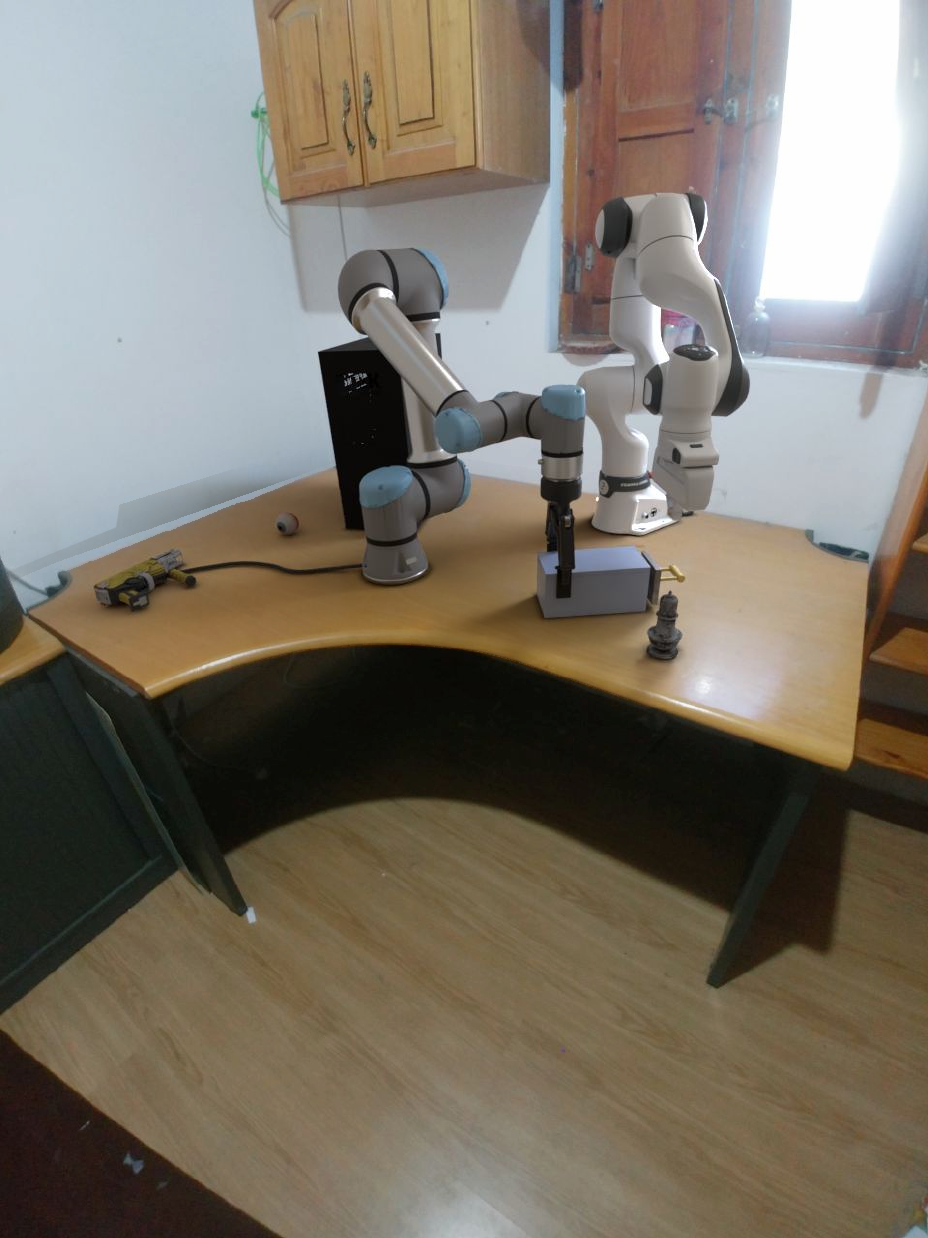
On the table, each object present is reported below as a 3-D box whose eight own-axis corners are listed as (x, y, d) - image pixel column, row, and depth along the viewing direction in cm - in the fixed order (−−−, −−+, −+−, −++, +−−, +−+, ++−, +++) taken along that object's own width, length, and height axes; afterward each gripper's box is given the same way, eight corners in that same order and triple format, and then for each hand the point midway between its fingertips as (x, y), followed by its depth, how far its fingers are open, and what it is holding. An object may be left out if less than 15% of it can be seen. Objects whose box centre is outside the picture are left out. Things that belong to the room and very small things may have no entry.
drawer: (669, 582, 127) (674, 548, 123) (685, 602, 119) (691, 567, 116) (555, 590, 127) (555, 556, 123) (563, 611, 119) (564, 576, 115)
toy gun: (219, 557, 146) (169, 546, 150) (142, 598, 126) (87, 585, 129) (222, 574, 148) (172, 563, 152) (147, 618, 128) (92, 604, 132)
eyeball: (273, 537, 164) (268, 516, 161) (287, 528, 169) (282, 508, 166) (291, 539, 161) (286, 518, 158) (305, 530, 166) (301, 510, 163)
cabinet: (630, 587, 128) (634, 545, 123) (645, 611, 119) (650, 567, 114) (536, 594, 128) (537, 552, 123) (544, 618, 119) (545, 574, 114)
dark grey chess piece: (681, 660, 104) (691, 599, 98) (646, 658, 105) (653, 597, 99) (678, 642, 108) (687, 583, 102) (644, 640, 110) (651, 581, 104)
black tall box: (415, 531, 162) (398, 349, 139) (345, 528, 166) (317, 351, 144) (450, 487, 193) (440, 332, 171) (390, 485, 198) (373, 335, 175)
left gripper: (531, 460, 120) (531, 562, 131) (552, 497, 100) (549, 613, 111) (569, 458, 120) (565, 559, 131) (596, 494, 100) (589, 610, 111)
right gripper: (647, 432, 117) (640, 501, 124) (686, 460, 99) (676, 538, 106) (679, 430, 117) (671, 499, 124) (724, 457, 99) (711, 536, 106)
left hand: (558, 584), depth 121 cm, fingers closed on cabinet, 10 cm apart
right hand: (673, 517), depth 115 cm, fingers closed
